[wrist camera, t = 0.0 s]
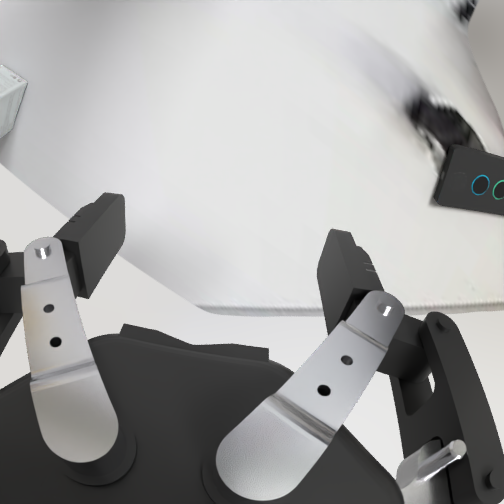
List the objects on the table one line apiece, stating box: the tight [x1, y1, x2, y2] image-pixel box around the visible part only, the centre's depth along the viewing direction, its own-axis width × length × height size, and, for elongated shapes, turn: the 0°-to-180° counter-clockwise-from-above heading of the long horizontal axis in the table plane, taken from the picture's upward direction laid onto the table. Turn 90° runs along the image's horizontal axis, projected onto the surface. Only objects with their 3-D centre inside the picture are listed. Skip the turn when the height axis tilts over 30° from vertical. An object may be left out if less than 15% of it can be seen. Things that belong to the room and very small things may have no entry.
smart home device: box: [434, 144, 504, 215], centre depth 32 cm, size 8×2×20 cm
